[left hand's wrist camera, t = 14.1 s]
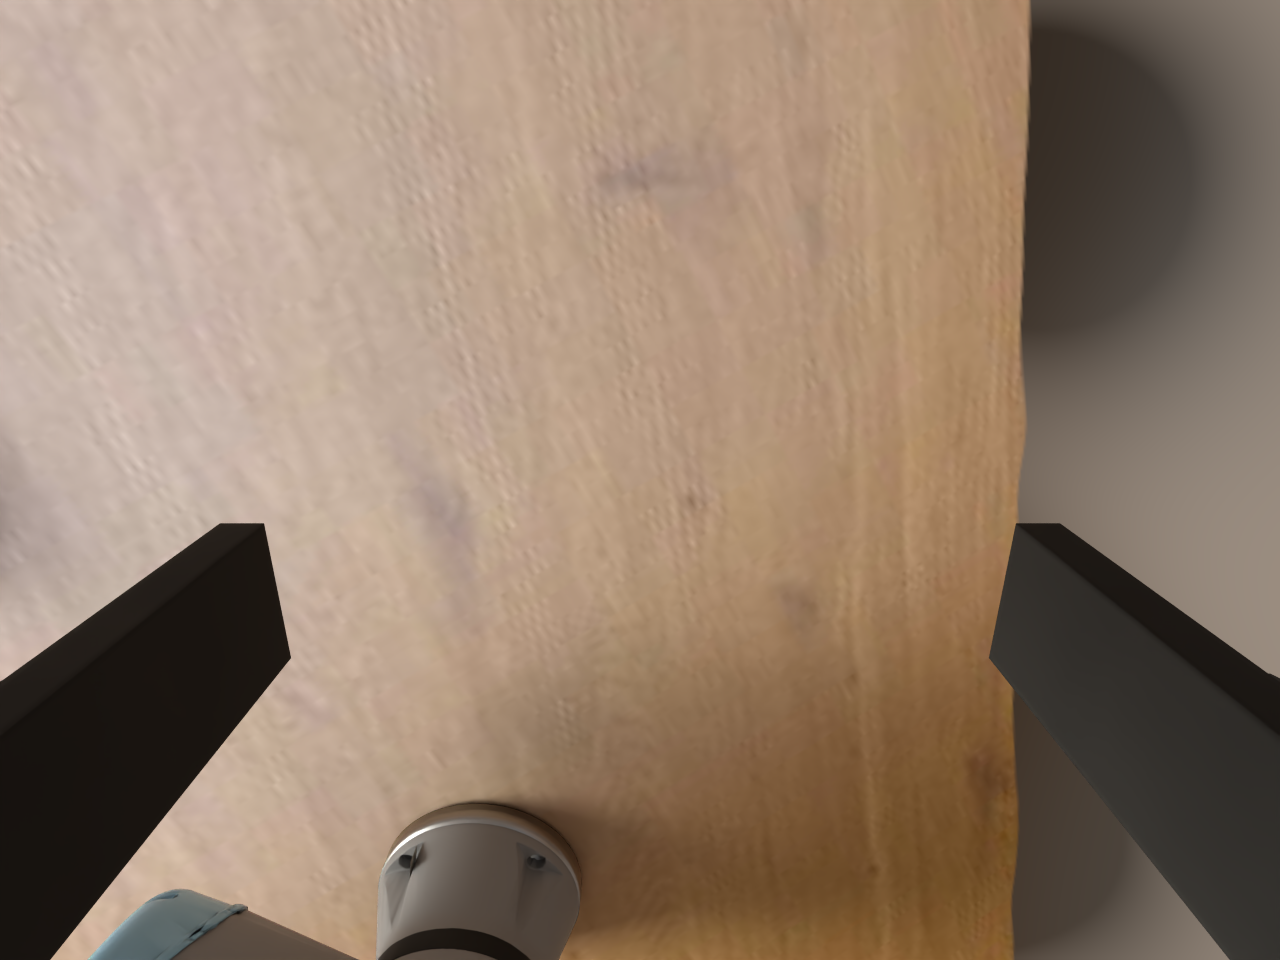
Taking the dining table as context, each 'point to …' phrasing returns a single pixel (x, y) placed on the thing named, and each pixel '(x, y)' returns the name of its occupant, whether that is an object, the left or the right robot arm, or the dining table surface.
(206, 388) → the dining table surface
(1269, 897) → the left robot arm
